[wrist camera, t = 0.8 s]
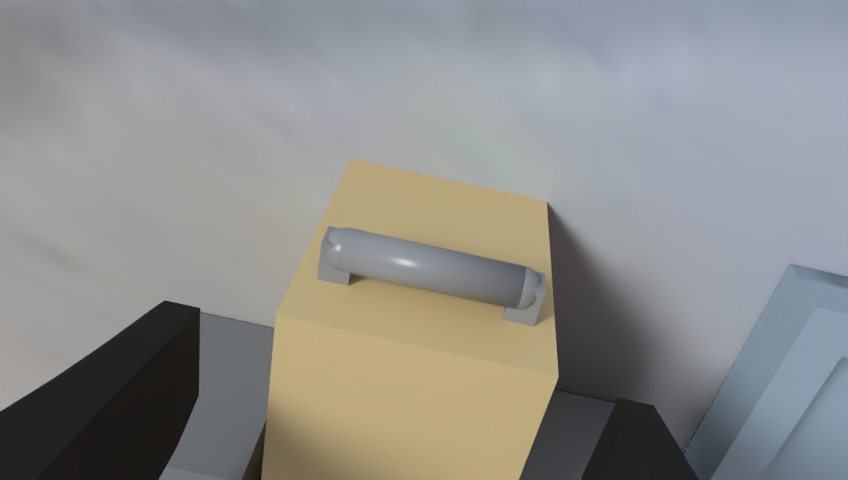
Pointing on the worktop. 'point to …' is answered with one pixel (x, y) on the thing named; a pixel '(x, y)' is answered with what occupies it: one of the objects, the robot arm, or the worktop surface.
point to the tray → (784, 391)
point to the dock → (248, 401)
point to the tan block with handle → (414, 335)
